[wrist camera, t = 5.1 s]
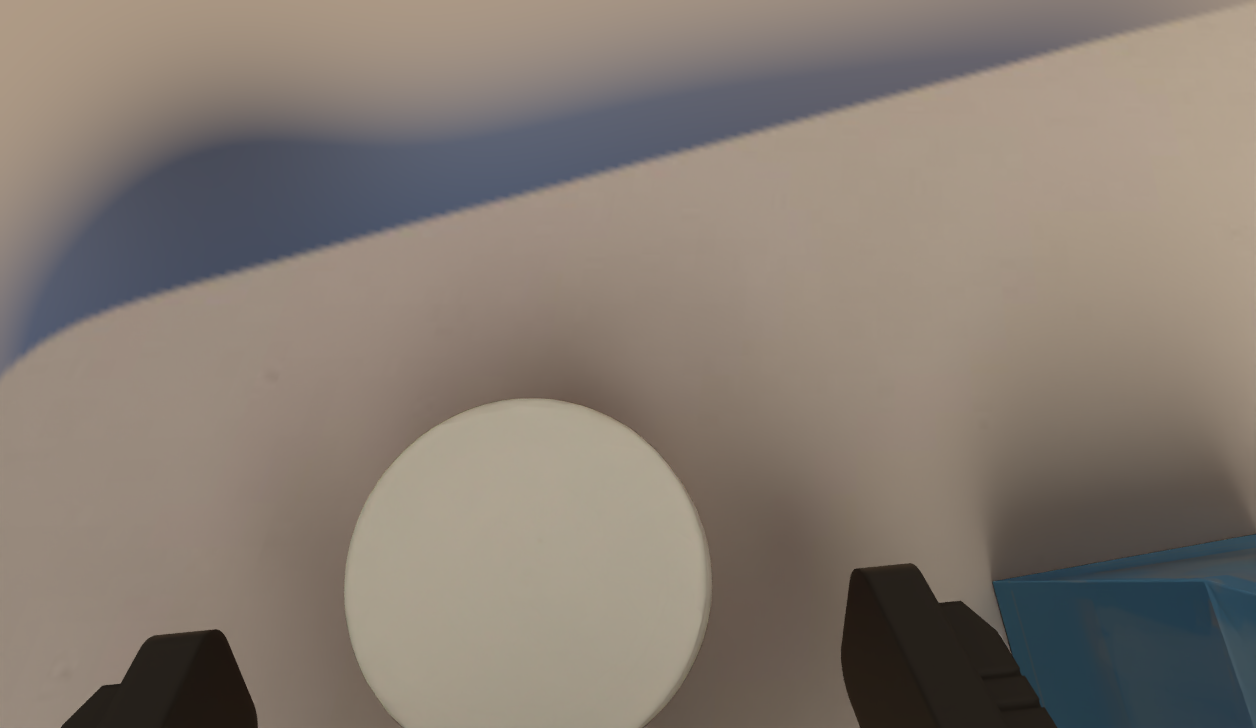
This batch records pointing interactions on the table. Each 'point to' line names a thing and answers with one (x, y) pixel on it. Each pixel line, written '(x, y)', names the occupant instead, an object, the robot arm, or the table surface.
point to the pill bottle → (527, 574)
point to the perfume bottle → (1141, 638)
